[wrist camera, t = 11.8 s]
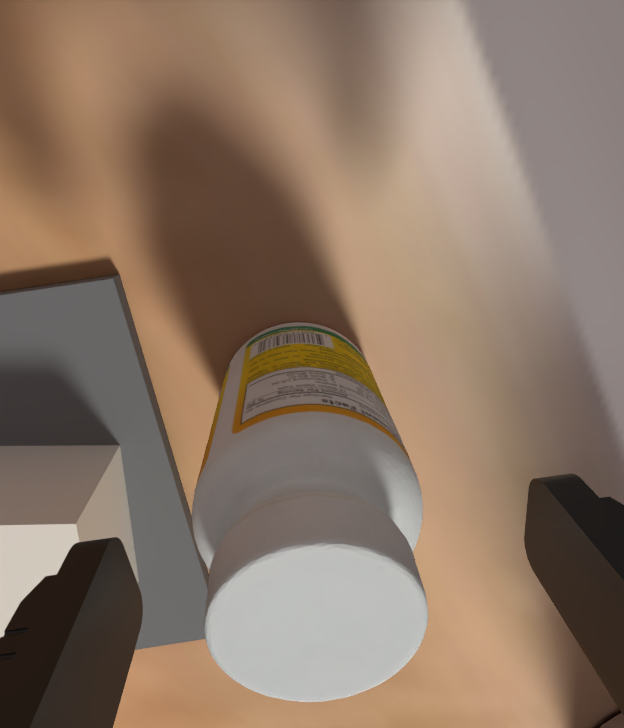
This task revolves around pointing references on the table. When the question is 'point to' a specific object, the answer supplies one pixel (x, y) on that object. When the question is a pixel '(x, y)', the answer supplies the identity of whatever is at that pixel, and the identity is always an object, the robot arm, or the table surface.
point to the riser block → (56, 512)
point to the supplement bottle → (308, 522)
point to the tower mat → (105, 430)
